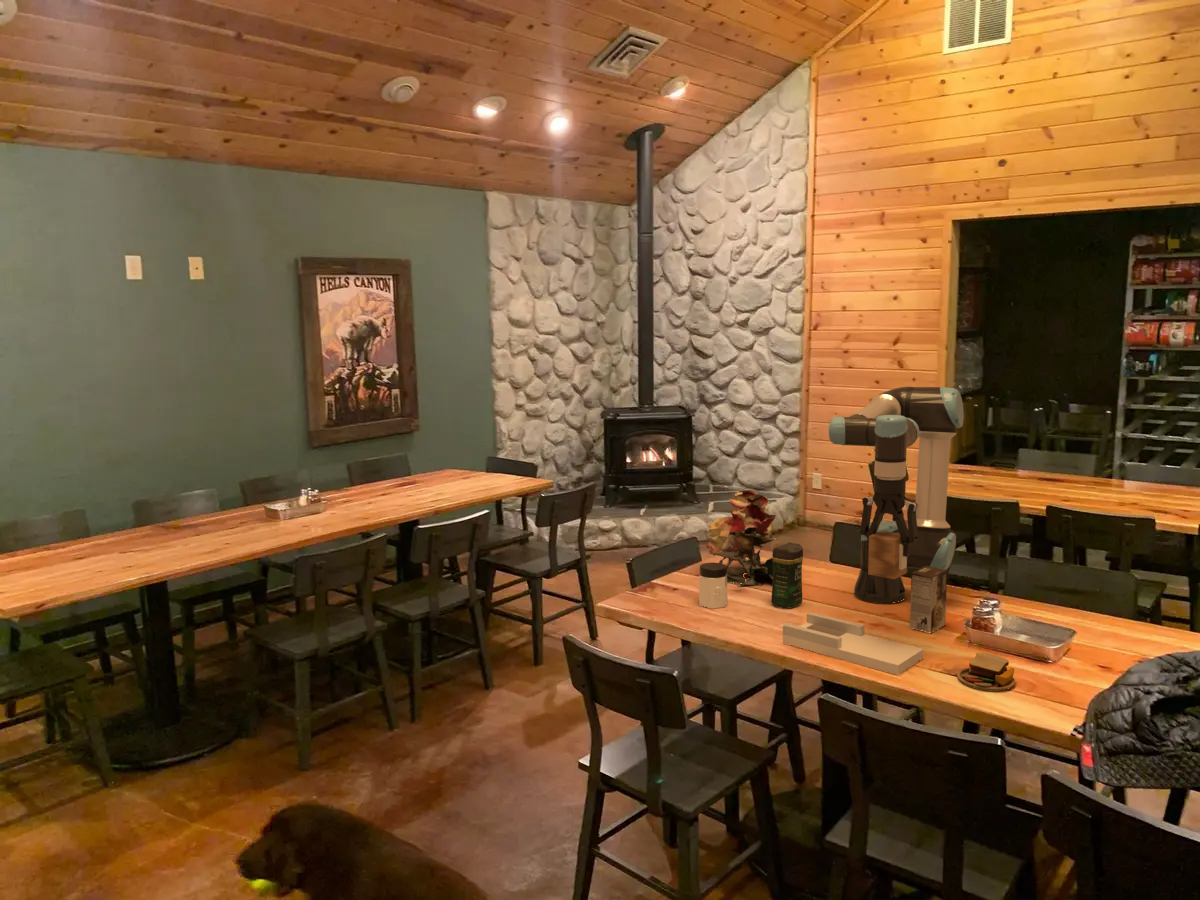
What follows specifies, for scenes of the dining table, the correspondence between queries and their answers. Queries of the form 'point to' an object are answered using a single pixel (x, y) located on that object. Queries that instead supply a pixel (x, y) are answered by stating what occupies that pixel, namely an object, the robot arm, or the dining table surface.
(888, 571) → the walnut block
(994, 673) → the toy sandwich meal
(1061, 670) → the dining table surface
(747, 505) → the rose bouquet
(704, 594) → the jar
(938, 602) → the coffee box
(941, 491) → the robot arm
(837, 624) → the slotted wooden base
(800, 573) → the coffee jar
